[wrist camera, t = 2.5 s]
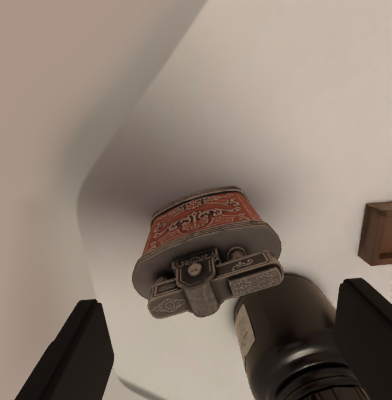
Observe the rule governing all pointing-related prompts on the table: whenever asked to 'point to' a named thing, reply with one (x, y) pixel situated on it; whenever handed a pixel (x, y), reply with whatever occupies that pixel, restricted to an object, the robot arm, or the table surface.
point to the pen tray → (377, 234)
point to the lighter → (206, 254)
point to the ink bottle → (293, 345)
